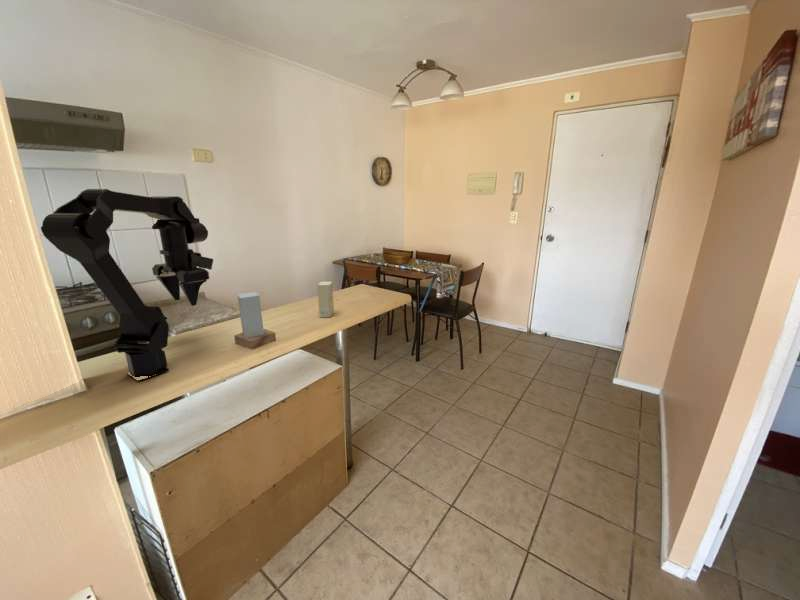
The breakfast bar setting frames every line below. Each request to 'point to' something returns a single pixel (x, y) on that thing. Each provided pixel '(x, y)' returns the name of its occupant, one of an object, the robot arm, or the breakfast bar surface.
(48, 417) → the breakfast bar surface
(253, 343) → the walnut block
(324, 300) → the skincare box
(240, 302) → the pillar
